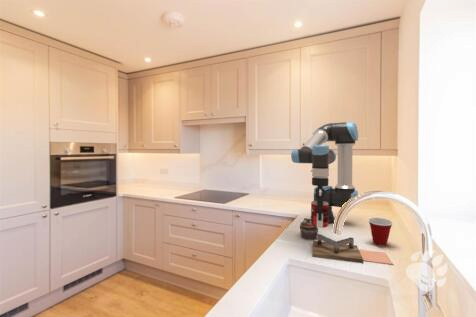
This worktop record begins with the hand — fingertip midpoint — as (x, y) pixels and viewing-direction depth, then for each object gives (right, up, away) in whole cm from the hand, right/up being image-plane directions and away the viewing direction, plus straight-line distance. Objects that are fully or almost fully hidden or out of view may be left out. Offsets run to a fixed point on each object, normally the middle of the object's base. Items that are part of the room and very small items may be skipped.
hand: (319, 224), depth 117 cm
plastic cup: (+32, -11, +5) cm, 34 cm away
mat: (+21, -11, -10) cm, 26 cm away
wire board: (+5, -11, -6) cm, 14 cm away
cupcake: (-1, -11, +14) cm, 18 cm away
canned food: (0, 0, 0) cm, 0 cm away
